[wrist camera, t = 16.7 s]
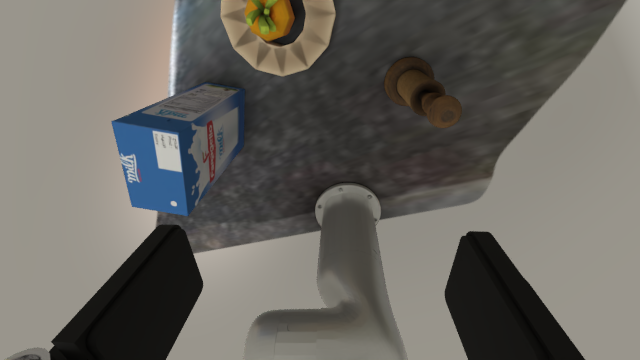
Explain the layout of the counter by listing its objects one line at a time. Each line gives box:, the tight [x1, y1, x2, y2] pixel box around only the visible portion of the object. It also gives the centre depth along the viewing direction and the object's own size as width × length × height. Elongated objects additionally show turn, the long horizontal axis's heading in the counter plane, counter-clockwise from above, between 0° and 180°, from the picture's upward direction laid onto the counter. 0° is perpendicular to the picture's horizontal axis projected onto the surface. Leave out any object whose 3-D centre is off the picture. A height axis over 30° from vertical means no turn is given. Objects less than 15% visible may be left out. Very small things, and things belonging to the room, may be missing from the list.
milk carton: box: [112, 82, 245, 216], centre depth 36 cm, size 10×6×20 cm, turn 171°
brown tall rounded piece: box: [384, 57, 462, 128], centre depth 32 cm, size 7×6×18 cm
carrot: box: [244, 0, 295, 42], centre depth 30 cm, size 5×5×15 cm
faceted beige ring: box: [221, 0, 336, 76], centre depth 35 cm, size 14×14×4 cm
